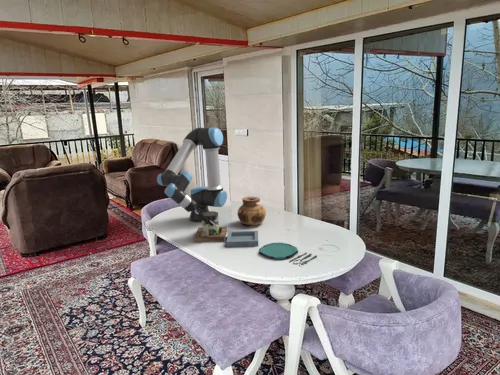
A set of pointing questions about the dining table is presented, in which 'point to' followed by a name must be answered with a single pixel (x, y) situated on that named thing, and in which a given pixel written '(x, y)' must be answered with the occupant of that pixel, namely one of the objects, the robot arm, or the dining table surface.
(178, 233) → the dining table surface
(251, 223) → the clay pot
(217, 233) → the coffee can
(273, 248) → the cutlery set
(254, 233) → the tray
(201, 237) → the wooden square frame
